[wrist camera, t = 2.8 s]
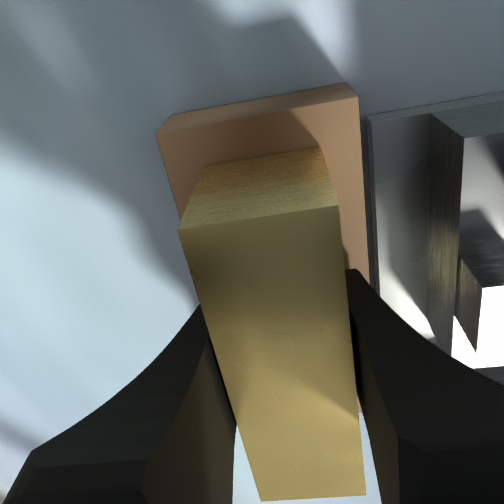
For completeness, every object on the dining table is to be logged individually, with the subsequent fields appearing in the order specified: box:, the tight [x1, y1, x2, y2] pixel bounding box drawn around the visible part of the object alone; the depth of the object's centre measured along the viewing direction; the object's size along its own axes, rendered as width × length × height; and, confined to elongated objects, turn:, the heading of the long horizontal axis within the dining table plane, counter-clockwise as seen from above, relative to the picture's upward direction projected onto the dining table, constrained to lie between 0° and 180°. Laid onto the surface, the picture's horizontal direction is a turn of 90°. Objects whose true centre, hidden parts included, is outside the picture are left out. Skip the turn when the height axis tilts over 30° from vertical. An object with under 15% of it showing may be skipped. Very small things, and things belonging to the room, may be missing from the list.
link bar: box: [177, 147, 366, 501], centre depth 12 cm, size 3×9×4 cm, turn 11°
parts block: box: [155, 82, 370, 413], centre depth 14 cm, size 5×11×2 cm, turn 11°
